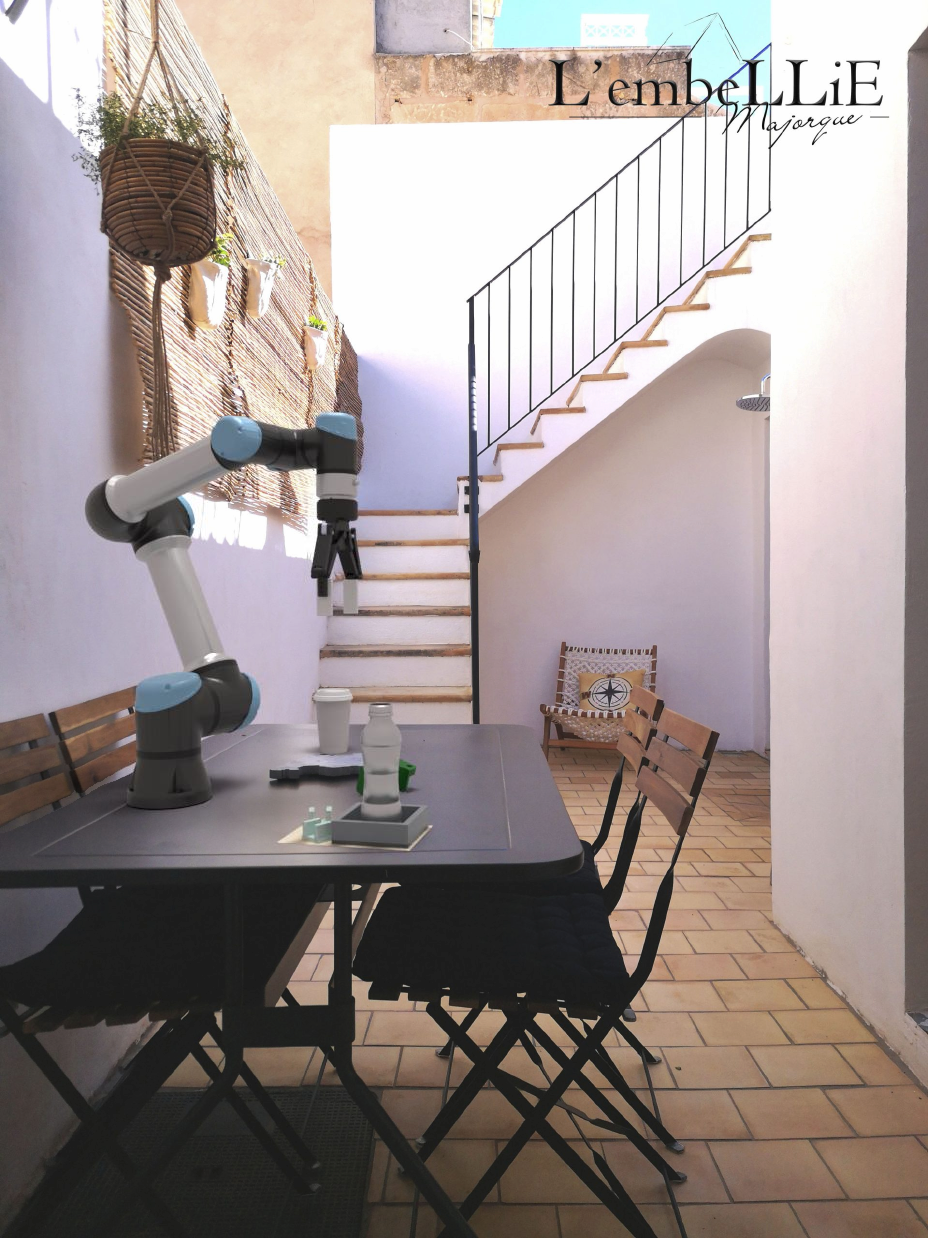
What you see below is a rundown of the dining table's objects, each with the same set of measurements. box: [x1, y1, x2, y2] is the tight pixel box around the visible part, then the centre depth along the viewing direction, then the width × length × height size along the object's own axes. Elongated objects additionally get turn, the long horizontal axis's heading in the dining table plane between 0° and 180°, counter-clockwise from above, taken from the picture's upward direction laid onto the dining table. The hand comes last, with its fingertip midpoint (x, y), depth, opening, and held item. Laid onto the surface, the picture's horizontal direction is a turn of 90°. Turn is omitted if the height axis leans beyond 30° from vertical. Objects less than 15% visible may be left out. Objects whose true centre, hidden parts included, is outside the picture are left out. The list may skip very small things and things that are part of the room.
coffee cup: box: [313, 687, 354, 755], centre depth 214 cm, size 10×10×15 cm
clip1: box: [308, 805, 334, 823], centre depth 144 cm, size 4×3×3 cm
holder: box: [331, 801, 429, 848], centre depth 138 cm, size 12×12×4 cm
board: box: [276, 824, 433, 852], centre depth 139 cm, size 21×14×1 cm, turn 78°
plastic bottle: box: [359, 702, 403, 823], centre depth 138 cm, size 6×7×20 cm
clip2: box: [302, 817, 332, 844], centre depth 136 cm, size 4×3×3 cm
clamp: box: [356, 758, 417, 796], centre depth 172 cm, size 12×6×9 cm, turn 142°
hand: (338, 614), depth 164 cm, fingers open, 13 cm apart
